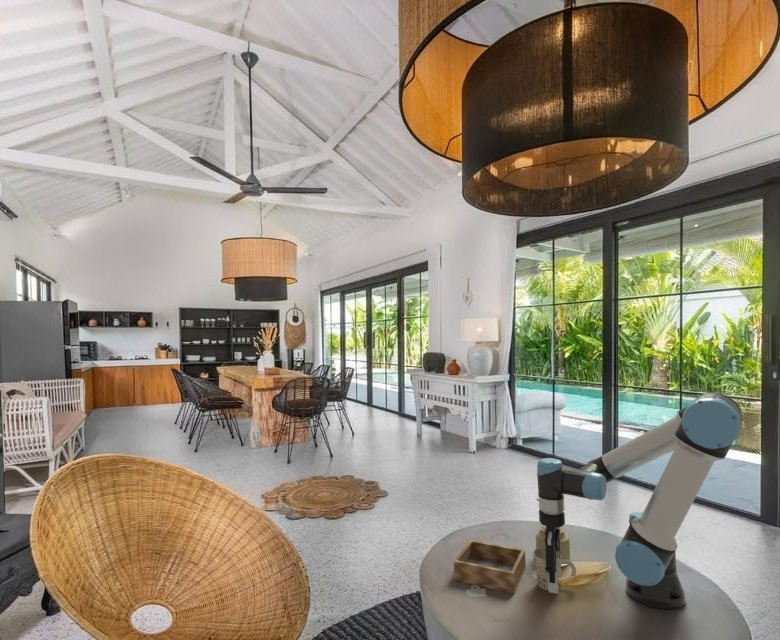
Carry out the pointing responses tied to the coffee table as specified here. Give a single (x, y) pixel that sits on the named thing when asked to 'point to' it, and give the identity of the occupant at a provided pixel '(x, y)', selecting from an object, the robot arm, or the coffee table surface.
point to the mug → (540, 566)
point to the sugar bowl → (563, 541)
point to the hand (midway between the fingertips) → (554, 586)
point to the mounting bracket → (475, 592)
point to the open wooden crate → (490, 566)
